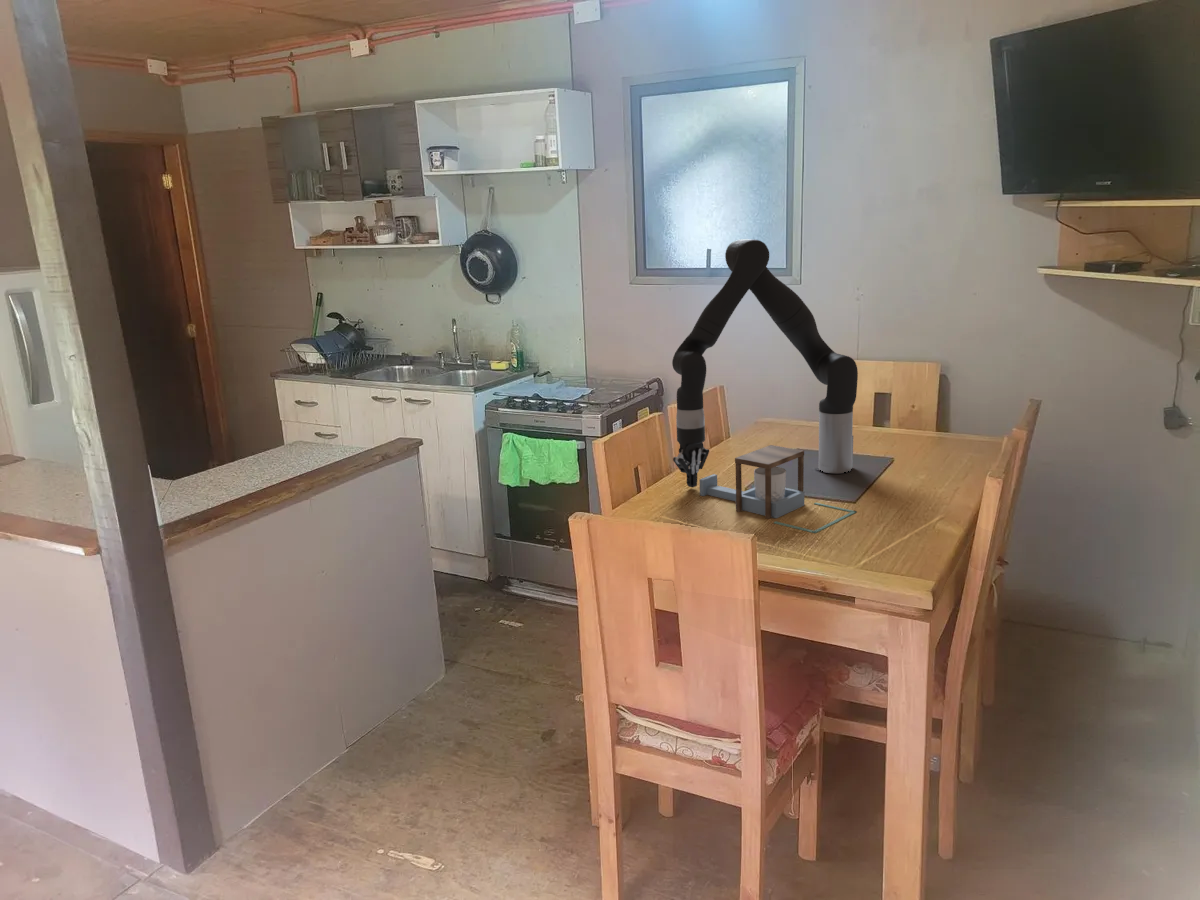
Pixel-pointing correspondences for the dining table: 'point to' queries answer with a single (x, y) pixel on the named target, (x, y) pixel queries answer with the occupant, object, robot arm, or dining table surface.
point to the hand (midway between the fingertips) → (692, 486)
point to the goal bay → (824, 525)
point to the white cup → (776, 483)
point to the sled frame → (753, 498)
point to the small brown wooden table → (768, 469)
